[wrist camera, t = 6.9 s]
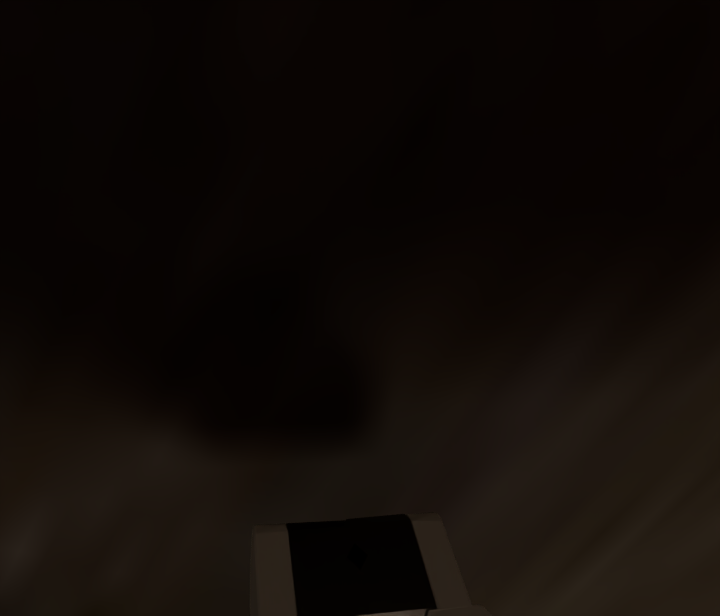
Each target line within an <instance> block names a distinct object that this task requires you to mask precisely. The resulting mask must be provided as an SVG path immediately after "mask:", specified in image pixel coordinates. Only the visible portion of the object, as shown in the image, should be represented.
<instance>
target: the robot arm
mask: <svg viewBox="0 0 720 616" xmlns="http://www.w3.org/2000/svg"><path fill="white" fill-rule="evenodd" d="M250 616H493V615H492V614H491V613H489V612H488V611H487V610H486V609H485V608H484V607H483V606H482V605H472V604H471V601H470V598H469V595H468V592H467V590H466V587H465V584H464V581H463V578H462V576H461V573H460V570H459V567H458V564H457V562H456V559H455V556H454V553H453V550H452V547H451V545H450V542H449V539H448V536H447V533H446V531H445V528H444V525H443V522H442V519H441V518H440V516H439V515H438V514H437V513H434V512H431V513H420V514H409V515H405V514H397V515H386V516H375V517H364V518H353V519H346V520H342V521H323V522H303V523H287V524H285V523H282V524H267V525H254V526H253V528H252V544H251V562H250Z"/></svg>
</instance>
